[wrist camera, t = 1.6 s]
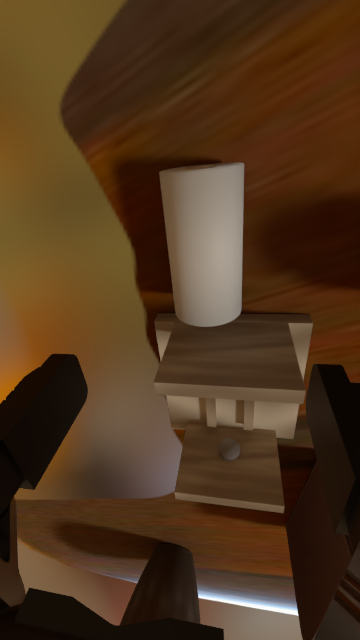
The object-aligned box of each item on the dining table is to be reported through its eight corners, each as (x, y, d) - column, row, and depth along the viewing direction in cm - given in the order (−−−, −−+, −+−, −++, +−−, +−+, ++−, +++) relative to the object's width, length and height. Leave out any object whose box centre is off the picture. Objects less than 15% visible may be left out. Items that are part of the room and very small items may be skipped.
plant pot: (149, 563, 64) (125, 676, 51) (127, 530, 57) (93, 651, 44) (216, 571, 60) (209, 696, 47) (202, 537, 53) (189, 672, 40)
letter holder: (284, 523, 46) (300, 656, 34) (319, 447, 35) (359, 602, 24) (352, 536, 45) (392, 680, 33) (409, 461, 34) (499, 633, 22)
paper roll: (181, 164, 22) (142, 173, 18) (253, 159, 20) (228, 168, 16) (191, 292, 28) (163, 321, 24) (248, 299, 26) (229, 333, 21)
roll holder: (157, 313, 29) (126, 381, 21) (309, 314, 26) (339, 392, 18) (174, 418, 37) (156, 496, 29) (291, 427, 34) (306, 516, 26)
